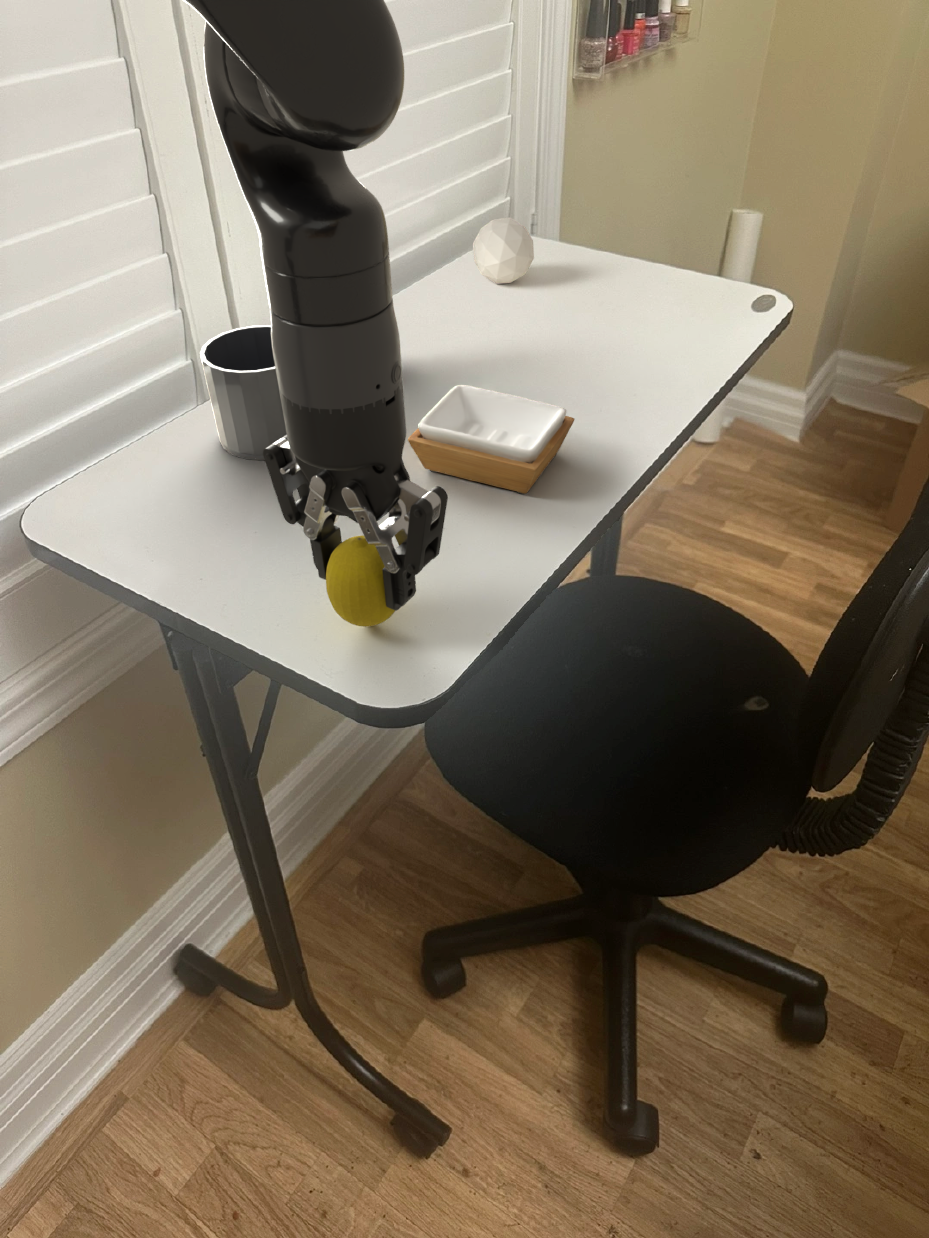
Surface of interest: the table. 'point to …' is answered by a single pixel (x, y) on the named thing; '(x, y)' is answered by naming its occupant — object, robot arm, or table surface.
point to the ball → (503, 250)
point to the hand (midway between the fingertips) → (365, 587)
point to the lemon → (357, 583)
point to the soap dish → (490, 437)
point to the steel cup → (244, 390)
